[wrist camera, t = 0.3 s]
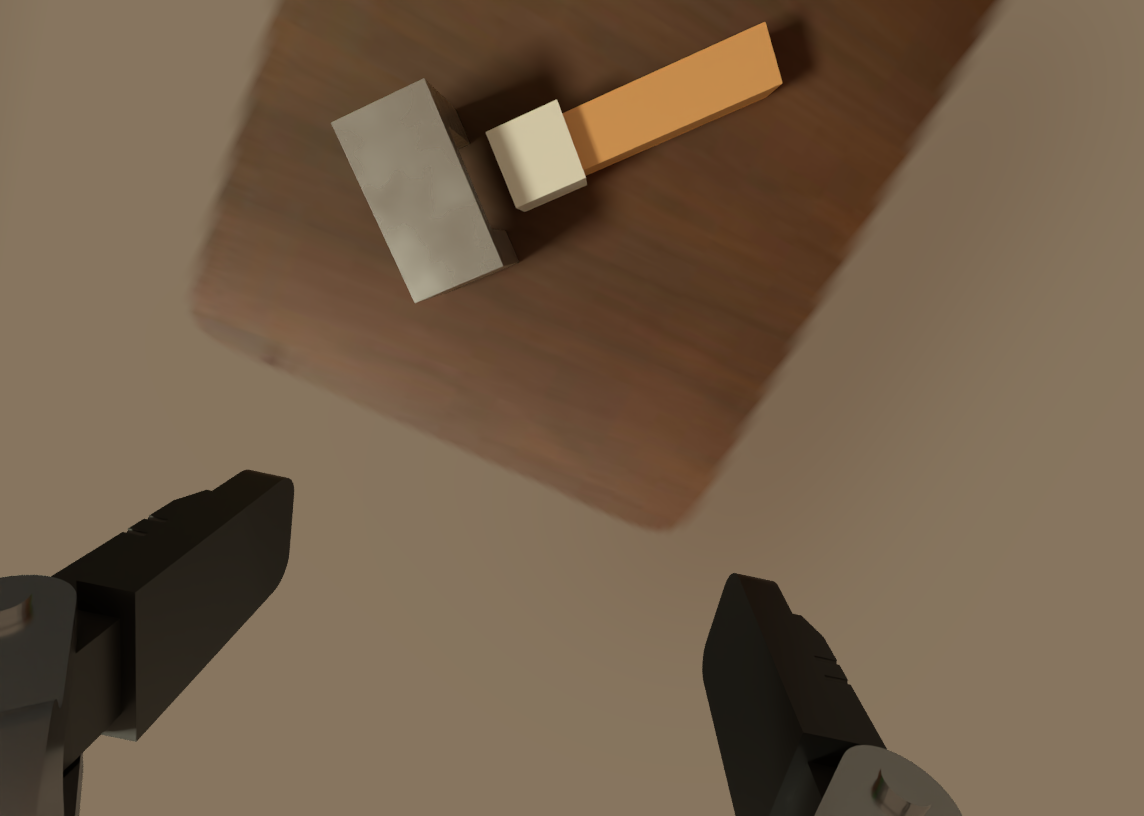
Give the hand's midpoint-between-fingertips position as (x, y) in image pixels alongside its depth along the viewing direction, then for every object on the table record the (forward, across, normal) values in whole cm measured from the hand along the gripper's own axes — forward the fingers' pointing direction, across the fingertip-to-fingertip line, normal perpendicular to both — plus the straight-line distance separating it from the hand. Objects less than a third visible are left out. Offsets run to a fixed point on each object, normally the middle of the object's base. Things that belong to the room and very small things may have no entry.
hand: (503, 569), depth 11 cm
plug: (+27, -1, -12) cm, 30 cm away
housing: (+27, +9, -6) cm, 29 cm away
